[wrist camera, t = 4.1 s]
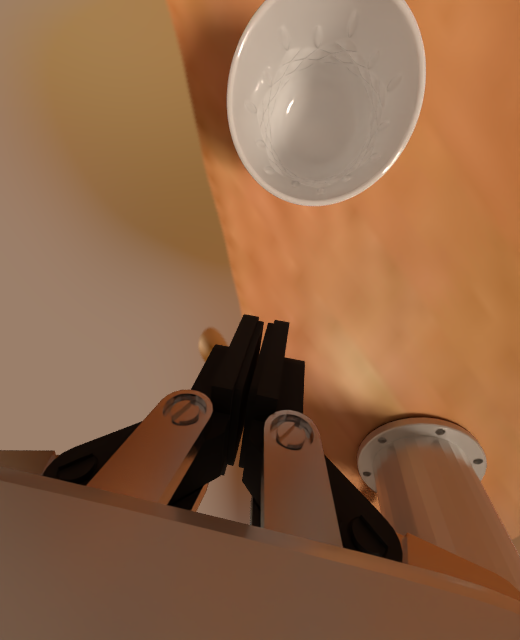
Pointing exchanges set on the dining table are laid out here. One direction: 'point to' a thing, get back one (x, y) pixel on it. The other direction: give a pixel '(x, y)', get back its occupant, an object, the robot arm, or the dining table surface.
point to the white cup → (325, 95)
